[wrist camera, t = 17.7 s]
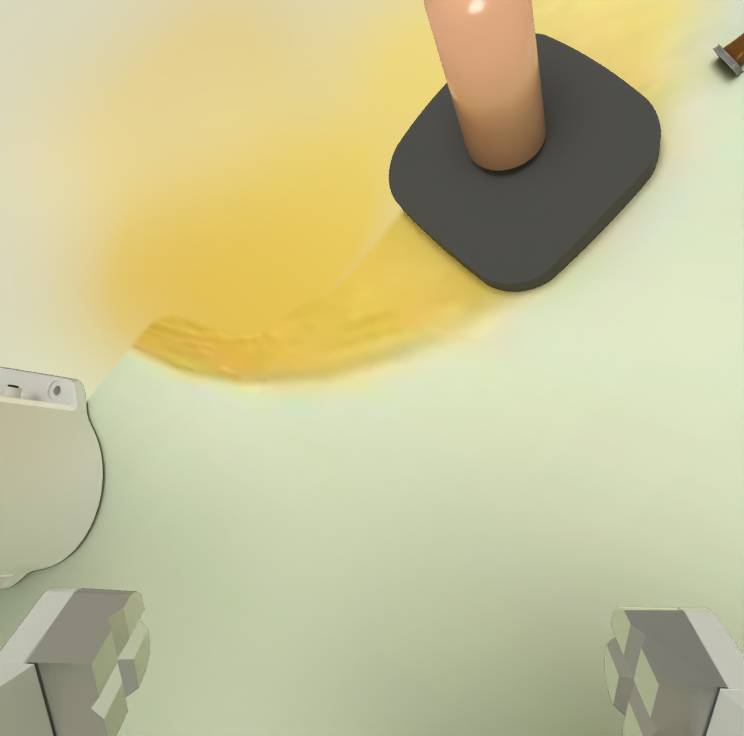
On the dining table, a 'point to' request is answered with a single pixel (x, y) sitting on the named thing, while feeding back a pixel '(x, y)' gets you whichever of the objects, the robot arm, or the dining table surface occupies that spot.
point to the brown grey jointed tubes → (733, 54)
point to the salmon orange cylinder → (492, 77)
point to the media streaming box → (531, 174)
